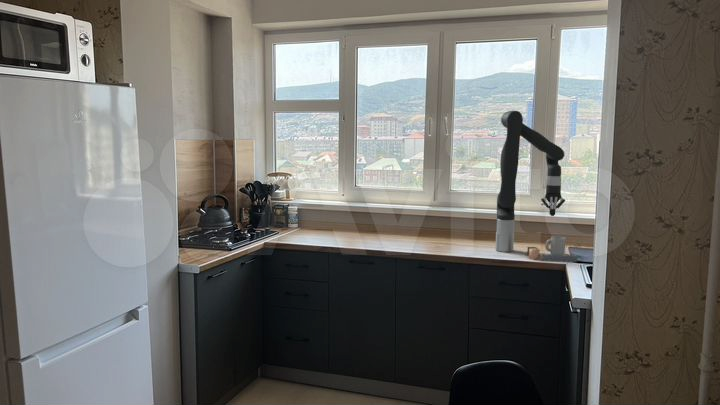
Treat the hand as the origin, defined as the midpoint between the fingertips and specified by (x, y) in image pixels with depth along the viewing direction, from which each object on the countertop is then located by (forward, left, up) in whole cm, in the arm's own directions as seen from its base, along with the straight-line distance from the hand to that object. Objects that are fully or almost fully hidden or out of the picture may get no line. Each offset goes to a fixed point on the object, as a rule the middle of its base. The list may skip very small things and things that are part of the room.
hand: (552, 215), depth 290 cm
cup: (0, -12, -19) cm, 22 cm away
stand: (0, -28, -19) cm, 34 cm away
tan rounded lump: (-13, -26, -19) cm, 34 cm away
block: (-12, -17, -19) cm, 28 cm away
